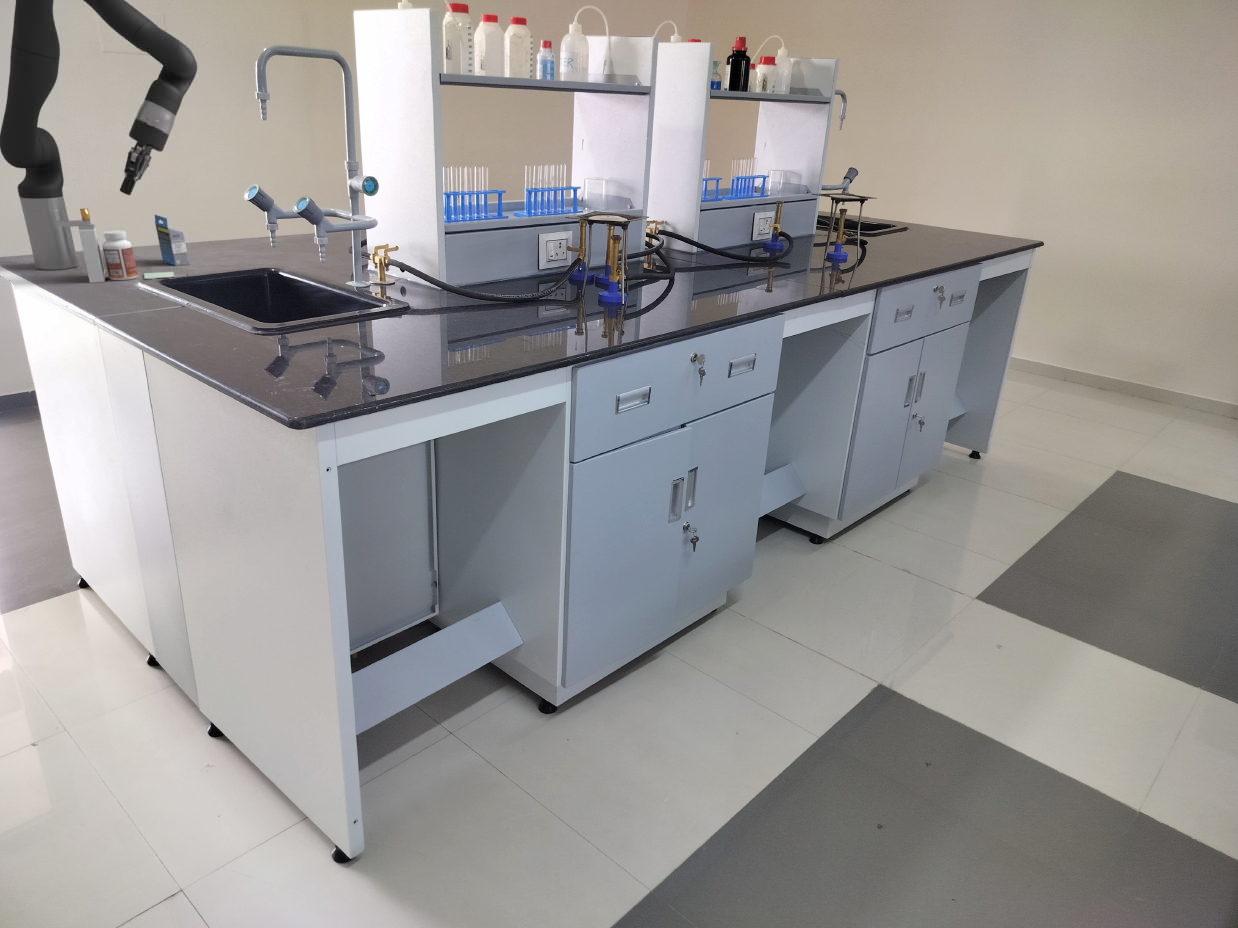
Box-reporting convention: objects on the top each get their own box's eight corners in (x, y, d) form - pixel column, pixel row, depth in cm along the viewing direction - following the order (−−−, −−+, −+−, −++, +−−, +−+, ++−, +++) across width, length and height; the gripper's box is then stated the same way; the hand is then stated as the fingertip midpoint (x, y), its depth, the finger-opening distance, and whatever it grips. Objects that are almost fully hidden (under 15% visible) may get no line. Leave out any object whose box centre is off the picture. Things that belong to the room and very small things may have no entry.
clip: (56, 226, 199) (52, 209, 197) (91, 225, 202) (88, 208, 200) (55, 227, 198) (51, 210, 196) (91, 226, 201) (87, 209, 199)
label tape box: (190, 264, 227) (182, 216, 222) (174, 266, 224) (165, 218, 219) (176, 260, 233) (168, 213, 228) (161, 261, 230) (152, 214, 225)
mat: (144, 275, 213) (144, 273, 213) (173, 273, 216) (173, 271, 216) (144, 280, 208) (144, 278, 208) (174, 278, 211) (174, 276, 210)
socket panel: (91, 275, 210) (80, 222, 205) (105, 275, 212) (94, 221, 207) (89, 282, 203) (78, 227, 198) (105, 281, 204) (93, 226, 199)
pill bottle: (134, 275, 213) (126, 229, 208) (140, 279, 208) (132, 232, 204) (106, 277, 209) (97, 231, 205) (112, 282, 205) (102, 234, 200)
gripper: (140, 123, 208) (113, 189, 209) (130, 112, 196) (101, 182, 197) (173, 139, 211) (146, 204, 212) (165, 129, 199) (136, 198, 200)
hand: (124, 193), depth 204 cm, fingers closed
